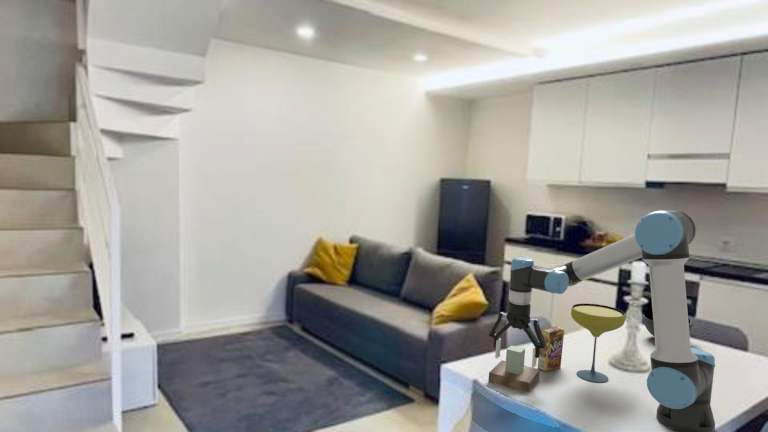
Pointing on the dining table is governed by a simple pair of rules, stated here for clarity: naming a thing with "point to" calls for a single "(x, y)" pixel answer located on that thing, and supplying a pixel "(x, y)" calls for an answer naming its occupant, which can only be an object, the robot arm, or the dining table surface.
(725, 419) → the dining table surface
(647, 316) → the coal bowl
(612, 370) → the dining table surface
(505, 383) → the walnut plinth
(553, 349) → the candy box
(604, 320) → the cocktail glass
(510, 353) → the sage block
